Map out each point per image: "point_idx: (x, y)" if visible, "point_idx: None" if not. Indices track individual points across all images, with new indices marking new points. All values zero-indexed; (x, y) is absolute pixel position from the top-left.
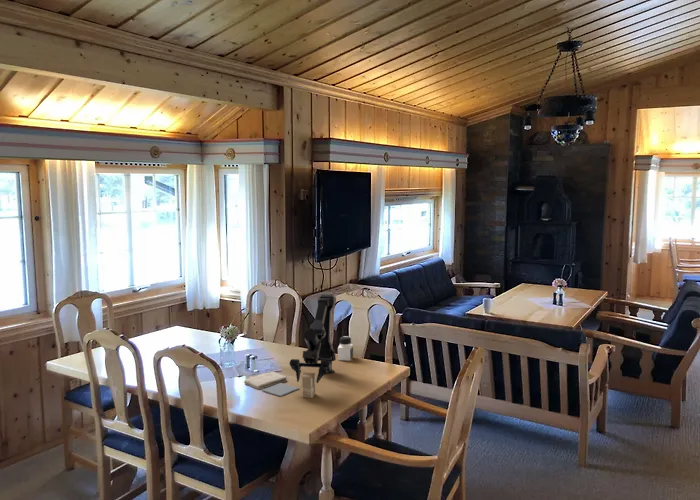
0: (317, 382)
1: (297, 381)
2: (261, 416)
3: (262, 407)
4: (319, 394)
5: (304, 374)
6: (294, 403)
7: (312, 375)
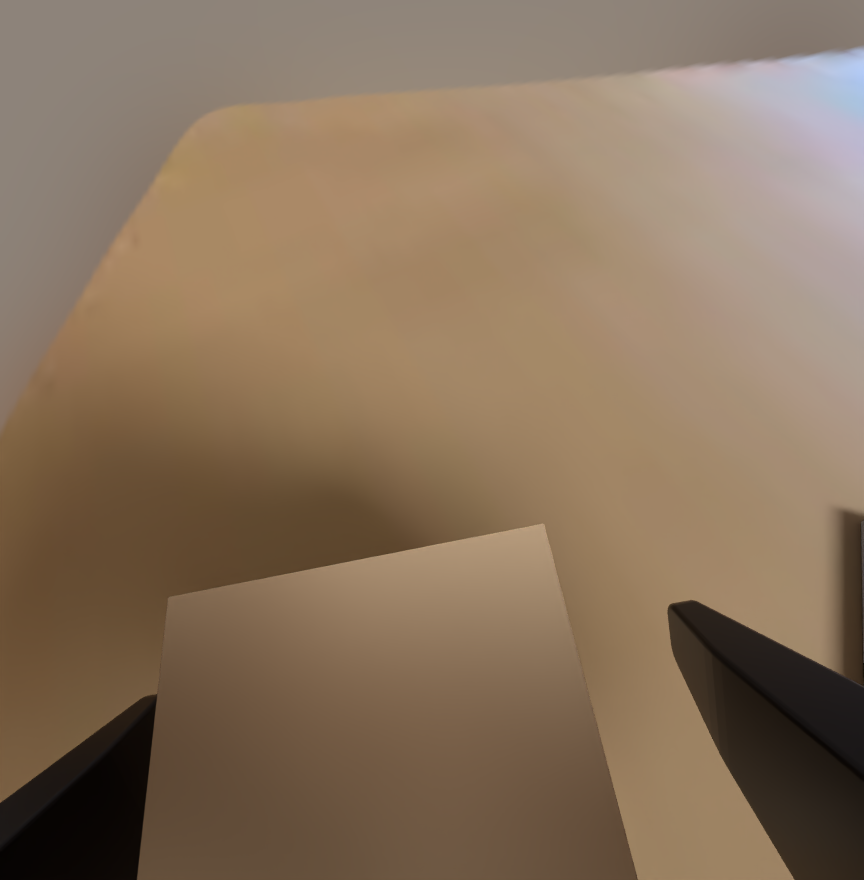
0: (152, 716)
1: (681, 607)
2: (628, 99)
3: (778, 202)
4: None
5: (518, 765)
6: (515, 403)
7: (165, 736)
